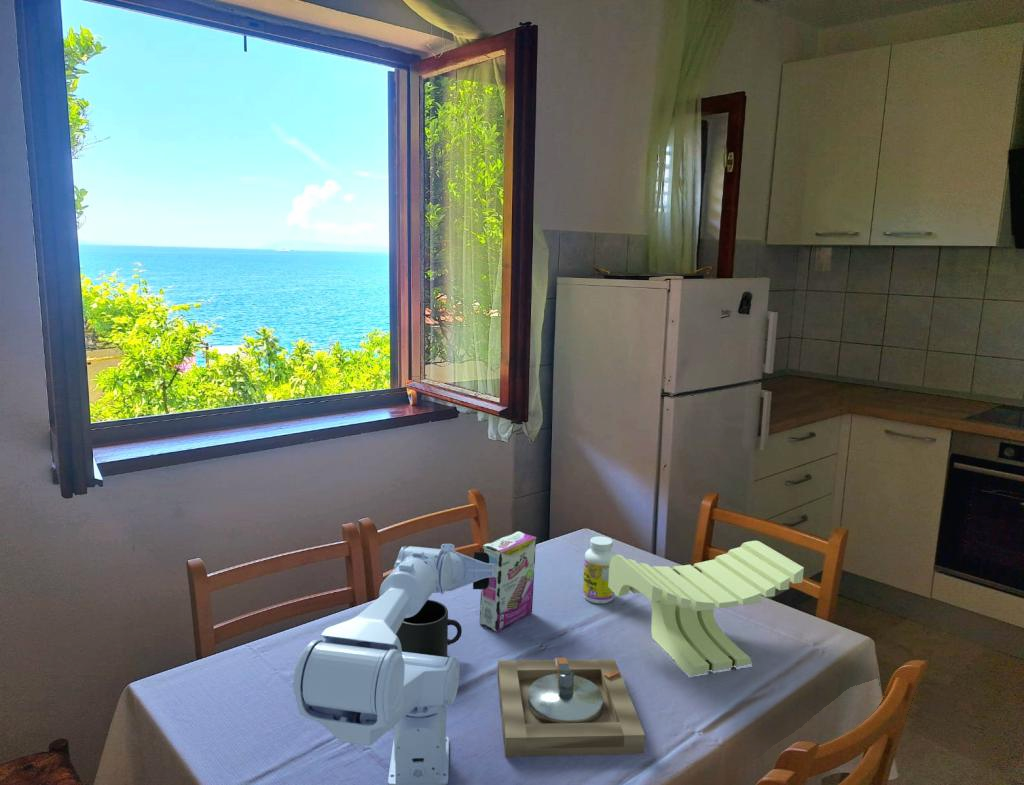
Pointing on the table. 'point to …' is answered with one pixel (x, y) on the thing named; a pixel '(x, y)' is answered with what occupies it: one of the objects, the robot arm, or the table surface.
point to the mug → (428, 631)
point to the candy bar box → (509, 581)
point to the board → (538, 738)
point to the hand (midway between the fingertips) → (459, 571)
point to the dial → (565, 697)
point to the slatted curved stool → (704, 600)
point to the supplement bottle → (598, 571)
